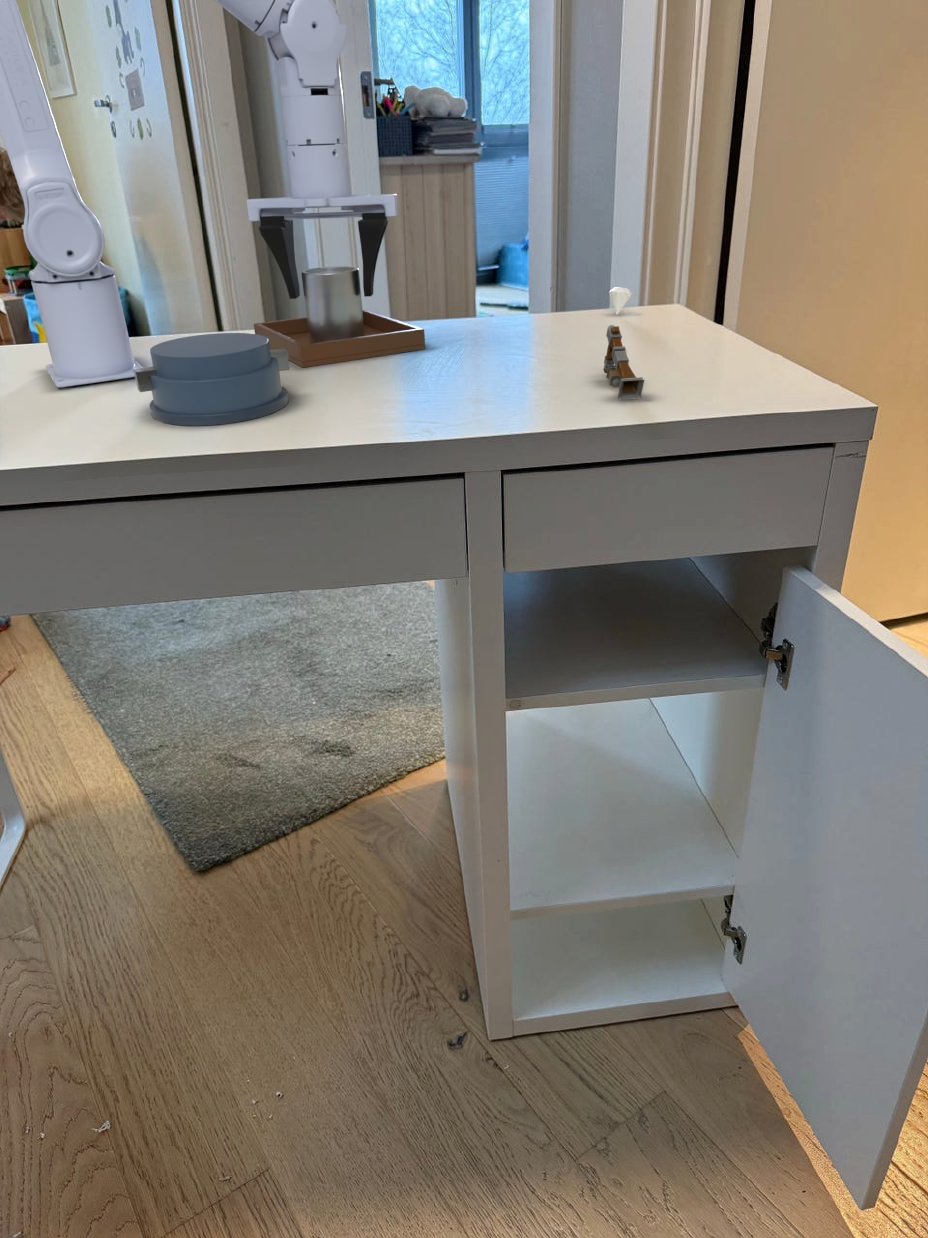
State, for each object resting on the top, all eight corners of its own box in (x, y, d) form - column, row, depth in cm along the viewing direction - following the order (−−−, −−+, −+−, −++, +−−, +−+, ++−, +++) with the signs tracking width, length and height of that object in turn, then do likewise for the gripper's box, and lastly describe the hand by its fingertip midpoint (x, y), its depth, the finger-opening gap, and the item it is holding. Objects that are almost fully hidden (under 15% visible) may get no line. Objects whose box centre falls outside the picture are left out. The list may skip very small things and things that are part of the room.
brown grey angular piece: (615, 362, 75) (623, 317, 71) (635, 423, 70) (645, 377, 66) (594, 364, 75) (601, 318, 71) (613, 424, 70) (622, 378, 66)
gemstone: (609, 314, 102) (615, 288, 101) (631, 318, 101) (637, 291, 100) (601, 311, 100) (607, 284, 99) (623, 314, 98) (629, 287, 98)
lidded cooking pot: (132, 404, 72) (118, 343, 70) (271, 382, 77) (263, 324, 75) (159, 435, 64) (144, 367, 62) (313, 409, 69) (306, 345, 66)
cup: (302, 339, 92) (293, 269, 88) (352, 333, 94) (345, 264, 90) (321, 349, 87) (312, 275, 84) (373, 341, 89) (367, 269, 86)
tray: (256, 342, 94) (253, 323, 93) (367, 327, 99) (365, 309, 98) (302, 367, 82) (299, 346, 81) (425, 349, 88) (424, 328, 87)
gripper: (230, 148, 78) (252, 304, 85) (388, 142, 78) (398, 299, 85) (249, 147, 85) (268, 293, 91) (395, 142, 84) (404, 289, 91)
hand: (331, 296), depth 88 cm, fingers open, 7 cm apart
